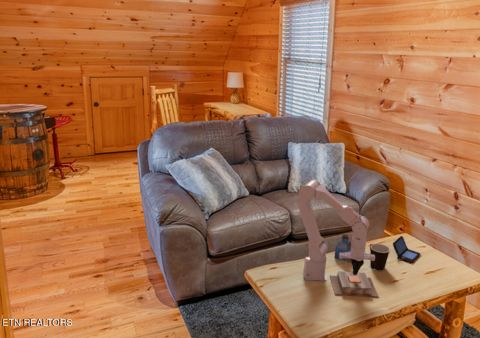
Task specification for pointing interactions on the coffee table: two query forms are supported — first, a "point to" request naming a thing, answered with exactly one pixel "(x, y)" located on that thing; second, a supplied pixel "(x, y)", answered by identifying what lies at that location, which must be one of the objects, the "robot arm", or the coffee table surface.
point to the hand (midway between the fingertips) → (354, 273)
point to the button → (353, 279)
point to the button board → (338, 292)
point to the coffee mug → (379, 256)
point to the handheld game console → (404, 251)
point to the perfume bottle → (343, 247)
